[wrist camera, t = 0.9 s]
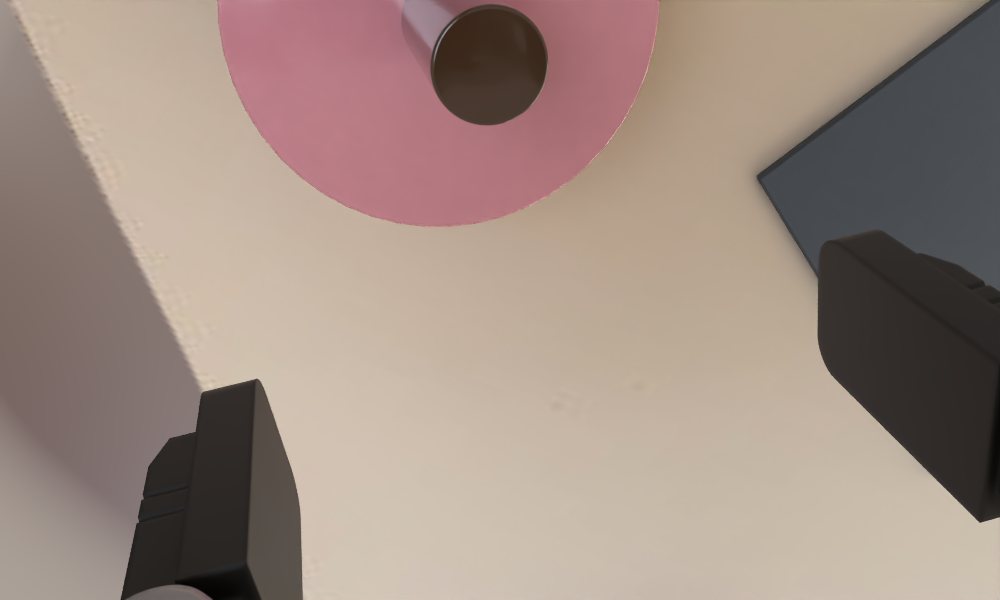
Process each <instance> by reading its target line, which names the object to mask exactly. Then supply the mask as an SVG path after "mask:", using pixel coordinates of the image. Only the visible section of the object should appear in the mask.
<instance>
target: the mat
mask: <svg viewBox="0 0 1000 600" xmlns="http://www.w3.org/2000/svg"><path fill="white" fill-rule="evenodd" d="M757 179H758V181H759V182H760V184H761V185H762V187H763V189H764V190H765V192H766V194H767V195H768V197H769V198H770V200H771V202H772V203H773V205H774V207H775V208H776V210H777V211H778V213H779V215H780V216H781V218H782V220H783V221H784V223H785V225H786V226H787V228H788V229H789V231H790V233H791V234H792V236H793V238H794V239H795V241H796V242H797V244H798V246H799V247H800V249H801V251H802V252H803V254H804V255H805V257H806V259H807V260H808V262H809V264H810V265H811V267H812V269H813V270H814V272H815V273H816V275H817V277H818V260H819V252H820V249H821V247H822V245H823V244H824V243H825V242H826V241H828V240H833V239H837V238H841V237H845V236H849V235H853V234H857V233H861V232H865V231H869V230H873V229H879V230H882V231H884V232H885V233H887V234H888V235H890V236H891V237H893V238H894V239H896V240H897V241H899V242H900V243H902V244H903V245H905V246H906V247H908V248H909V249H911V250H912V251H914V252H915V253H917V254H918V253H923V254H926V255H930V256H933V257H936V258H939V259H942V260H945V261H948V262H952V263H955V264H958V265H959V266H961V267H962V268H964V269H966V270H967V271H969V272H970V273H972V274H973V275H975V276H976V277H978V278H980V279H981V280H983V281H984V282H985V285H986V286H988V285H990V286H992V287H994V288H995V289H997V290H998V291H1000V0H991V1H989V2H988V3H987V4H985V5H984V6H983V7H981V8H980V9H979V10H977V11H976V12H975V13H973V14H972V15H971V16H969V17H968V18H967V19H965V20H964V21H963V22H961V23H960V24H959V25H957V26H956V27H955V28H953V29H952V30H951V31H949V32H948V33H947V34H945V35H944V36H943V37H941V38H940V39H939V40H937V41H936V42H935V43H933V44H932V45H931V46H930V47H928V48H927V49H926V50H924V51H923V52H922V53H920V54H919V55H918V56H916V57H915V58H914V59H912V60H911V61H910V62H908V63H907V64H906V65H904V66H903V67H902V68H900V69H899V70H898V71H896V72H895V73H894V74H892V75H891V76H890V77H888V78H887V79H886V80H884V81H883V82H882V83H880V84H879V85H878V86H876V87H875V88H874V89H872V90H871V91H870V92H868V93H867V94H866V95H864V96H863V97H862V98H860V99H859V100H858V101H856V102H855V103H854V104H852V105H851V106H850V107H848V108H847V109H846V110H844V111H843V112H842V113H840V114H839V115H838V116H836V117H835V118H834V119H832V120H831V121H830V122H828V123H827V124H826V125H824V126H823V127H822V128H820V129H819V130H818V131H816V132H815V133H814V134H812V135H811V136H810V137H808V138H807V139H806V140H804V141H803V142H802V143H800V144H799V145H798V146H796V147H795V148H794V149H792V150H791V151H790V152H788V153H787V154H786V155H784V156H783V157H782V158H780V159H779V160H778V161H776V162H775V163H774V164H772V165H771V166H770V167H768V168H767V169H766V170H764V171H763V172H762V173H760V174H759V175H758V176H757Z"/></svg>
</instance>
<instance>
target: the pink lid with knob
mask: <svg viewBox="0 0 1000 600" xmlns="http://www.w3.org/2000/svg"><path fill="white" fill-rule="evenodd" d="M217 1H218V23H219V29H220V35H221V40H222V46H223V51H224V56H225V59H226V62H227V65H228V68H229V72H230V75H231V78H232V81H233V84H234V86H235V88H236V91H237V93H238V95H239V97H240V99H241V101H242V103H243V106H244V108H245V110H246V112H247V113H248V115H249V117H250V118H251V120H252V121H253V123H254V124H255V126H256V128H257V129H258V131H259V132H260V134H261V136H262V137H263V138H264V139H265V140H266V142H267V143H268V144H269V145H270V147H271V148H272V149H273V150H274V151H275V153H276V154H277V155H278V156H279V157H280V158H281V159H282V160H283V161H284V162H285V163H286V164H287V165H288V166H289V167H290V168H291V169H292V170H293V171H294V172H295V173H296V174H298V175H299V176H300V177H301V178H302V179H304V180H305V181H306V182H308V183H309V184H310V185H312V186H313V187H315V188H316V189H317V190H319V191H320V192H321V193H323V194H325V195H326V196H328V197H330V198H332V199H334V200H336V201H337V202H339V203H341V204H343V205H345V206H346V207H349V208H351V209H354V210H356V211H359V212H362V213H364V214H367V215H369V216H372V217H376V218H379V219H383V220H387V221H391V222H395V223H400V224H408V225H416V226H440V227H450V226H458V225H466V224H475V223H479V222H483V221H487V220H491V219H495V218H500V217H503V216H505V215H508V214H510V213H513V212H516V211H518V210H521V209H524V208H526V207H528V206H530V205H532V204H534V203H536V202H537V201H539V200H541V199H543V198H545V197H547V196H549V195H550V194H552V193H553V192H555V191H556V190H557V189H559V188H560V187H562V186H563V185H565V184H566V183H568V182H569V181H570V180H572V179H573V178H574V177H575V176H576V175H577V174H578V173H580V172H581V171H582V170H583V169H584V168H585V167H586V166H588V165H589V164H590V163H591V162H592V160H593V159H594V158H595V157H596V156H597V155H598V154H599V153H600V152H601V151H602V149H603V148H604V147H605V146H606V145H607V144H608V142H609V141H610V140H611V138H612V137H613V135H614V134H615V133H616V131H617V130H618V129H619V127H620V126H621V124H622V123H623V121H624V119H625V118H626V116H627V114H628V112H629V110H630V109H631V107H632V105H633V103H634V101H635V100H636V98H637V95H638V93H639V90H640V88H641V85H642V83H643V80H644V78H645V76H646V73H647V70H648V66H649V63H650V59H651V55H652V52H653V48H654V44H655V38H656V31H657V25H658V18H659V0H217Z"/></svg>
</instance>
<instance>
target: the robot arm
mask: <svg viewBox="0 0 1000 600" xmlns="http://www.w3.org/2000/svg"><path fill="white" fill-rule="evenodd" d="M818 343H819V348H820V352H821V355H822V358H823V361H824V363H825V365H826V367H827V369H828V371H829V372H830V373H831V375H832V376H833V377H834V378H835V379H836V380H837V381H838V382H839V383H840V384H841V385H842V386H843V387H844V388H845V389H846V390H847V391H848V392H849V393H850V394H851V395H852V396H853V397H854V398H855V399H856V400H857V401H858V402H859V403H860V404H861V405H862V406H863V407H864V408H865V409H866V410H867V411H868V412H869V413H870V414H871V415H872V416H873V417H874V418H875V419H876V420H877V421H878V422H879V423H880V424H881V425H882V426H883V427H884V428H885V429H886V430H887V431H888V432H889V433H890V434H891V435H892V436H893V437H894V438H895V439H896V440H897V441H898V442H899V443H900V444H901V445H902V446H903V447H904V448H905V449H906V450H907V451H908V452H909V453H910V454H911V455H912V456H913V457H914V458H915V459H916V460H917V461H918V462H919V463H920V464H921V465H922V466H923V467H924V468H925V469H926V470H927V471H928V472H929V473H930V474H931V475H932V476H933V477H934V478H935V479H936V480H937V481H938V482H939V483H940V484H941V485H942V486H943V487H944V488H945V489H946V490H947V491H948V492H949V493H950V494H951V495H952V496H953V497H954V498H955V499H957V500H958V501H959V502H960V503H961V504H962V505H963V506H964V507H965V508H966V509H967V510H968V511H969V512H970V513H971V514H972V515H973V516H974V517H975V518H976V519H977V520H978V521H979V522H980V523H981V522H984V521H988V520H991V519H995V518H998V517H1000V291H998V290H997V289H995V288H994V287H992V286H990V285H988V286H986V285H985V282H984V281H983V280H981V279H980V278H978V277H976V276H975V275H973V274H972V273H970V272H969V271H967V270H966V269H964V268H962V267H961V266H959V265H958V264H955V263H952V262H948V261H945V260H942V259H939V258H936V257H933V256H930V255H926V254H923V253H918V254H917V253H915V252H914V251H912V250H911V249H909V248H908V247H906V246H905V245H903V244H902V243H900V242H899V241H897V240H896V239H894V238H893V237H891V236H890V235H888V234H887V233H885V232H884V231H882V230H879V229H873V230H869V231H865V232H861V233H857V234H853V235H849V236H845V237H841V238H837V239H833V240H828V241H826V242H825V243H824V244H823V245H822V247H821V249H820V252H819V260H818ZM143 497H144V499H143V500H142V501H141V505H140V510H139V515H138V519H139V523H137V525H136V529H135V534H134V539H133V544H132V548H131V553H130V558H129V563H128V568H127V572H126V577H125V581H124V586H123V591H122V596H121V600H303V591H302V553H301V517H300V506H299V499H298V493H297V489H296V484H295V480H294V476H293V473H292V469H291V466H290V463H289V460H288V457H287V455H286V452H285V449H284V446H283V443H282V440H281V437H280V434H279V431H278V428H277V425H276V422H275V419H274V416H273V413H272V410H271V407H270V404H269V401H268V398H267V396H266V393H265V390H264V388H263V386H262V384H261V382H260V380H259V379H254V380H250V381H246V382H242V383H238V384H234V385H230V386H226V387H222V388H218V389H213V390H209V391H205V392H203V393H202V395H201V399H200V406H199V413H198V420H197V427H196V432H194V433H189V434H186V435H182V436H178V437H173V438H170V439H169V440H168V442H167V443H166V444H165V445H164V447H163V448H162V449H161V451H160V452H159V454H158V455H157V456H156V458H155V459H154V460H153V461H152V463H151V464H150V465H149V467H148V472H147V477H146V482H145V486H144V491H143Z"/></svg>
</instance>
